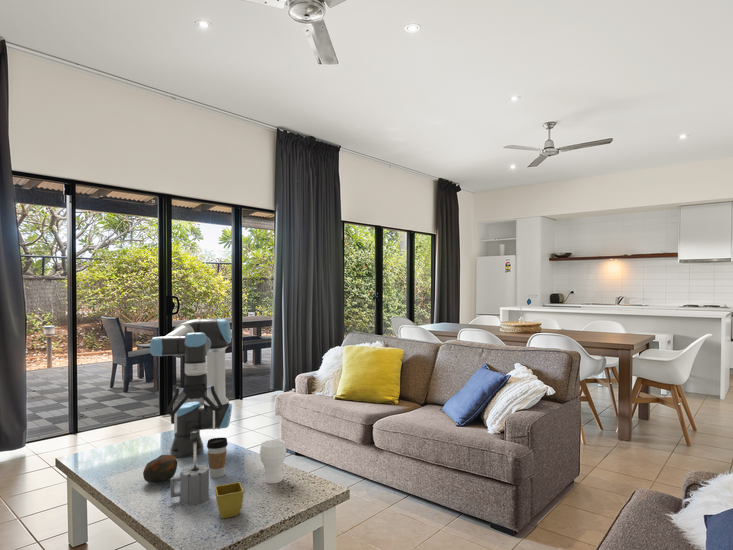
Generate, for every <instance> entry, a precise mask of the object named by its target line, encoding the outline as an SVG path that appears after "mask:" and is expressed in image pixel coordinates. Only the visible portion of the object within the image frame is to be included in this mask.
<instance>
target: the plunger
mask: <svg viewBox="0 0 733 550" xmlns="http://www.w3.org/2000/svg"><path fill="white" fill-rule="evenodd" d="M200 437H201V430H200V431H192V432H191V441H192V442H194V456H193V465H194V471H196V465H197V455H196V441H199V440H200ZM198 476H199V475H198ZM189 477H190V476H189Z"/></svg>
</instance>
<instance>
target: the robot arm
mask: <svg viewBox="0 0 733 550" xmlns="http://www.w3.org/2000/svg"><path fill="white" fill-rule="evenodd" d="M230 343H232V329H231V325H230V322H229V320H227V319H225V318H224V319H223V318H203V319H202V318H201V319H200V318H199V319H190V320H188V321H184V322H182V323H180V324H177V326H175V327H174V329H173V330H172V331H171V332H169V333H168V334H166V335H165V336H154V337H152V338H151V340H150V343H149V352H150V354H151V355H152V356H153V357H155V356H156V357H166V356H167V357H168V356H184V374H185V375H184V387H179V386H177V387H176V388H175V391H174V396H173V397H172V398H171V401H170V403H169V405H168V406H167V408H166V410H165V414H166V415H170V423H171V425H172V424H173V428H174V429H173V439H172V443H171V446H170V449H169V450H170V451H169V452H170V453H169V455H172V456H175V457H176V458H187V457H188V458H191V457H194V442H192V441H191V432H192V431H200V432H201V430H202V431H204V430H213V431H215V430H221V429H222V430H223V429H226V428H229V426H230V424H231V416H232V412H233V411H232V410H233V403H229V402H230V400H229V399H228V397H226V392H227V391H226V349H227V348H228V347H229V344H230ZM182 392H183V394H185V395H184V396H183V397H182V398H181V400H180V401H179V402H178V404H177V405H176V406H175V407H174V408H173V406H174V404H175V402H176V400H177V399H178V397H179V395H181V393H182ZM201 398H202V399H203V401H204V402H203V404H201V402H200V401H190V402H187V401H188V399H189V400H194V399H197V400H199V399H201ZM172 408H173V410H172ZM204 449H205V448H204V443H203V440H202V437H201V436H200V440H199V441H196V456H198V455H199V454H202V453H203V452H204Z"/></svg>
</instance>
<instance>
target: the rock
mask: <svg viewBox="0 0 733 550" xmlns="http://www.w3.org/2000/svg"><path fill="white" fill-rule="evenodd" d="M177 468H178V459H177V457H175V456H172V455H170V454H161V455H159V456H158V457H156V458H154V459H152V460H151V461H149V462H148V463H147V464H146V465H145V467H144V469H143V472H142V474H143V475H142V476H143V479H144V481H145V482H147V483H149V484H163V483H167V482H169V481H171V478H172V477H175V474H176V471H177Z"/></svg>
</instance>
